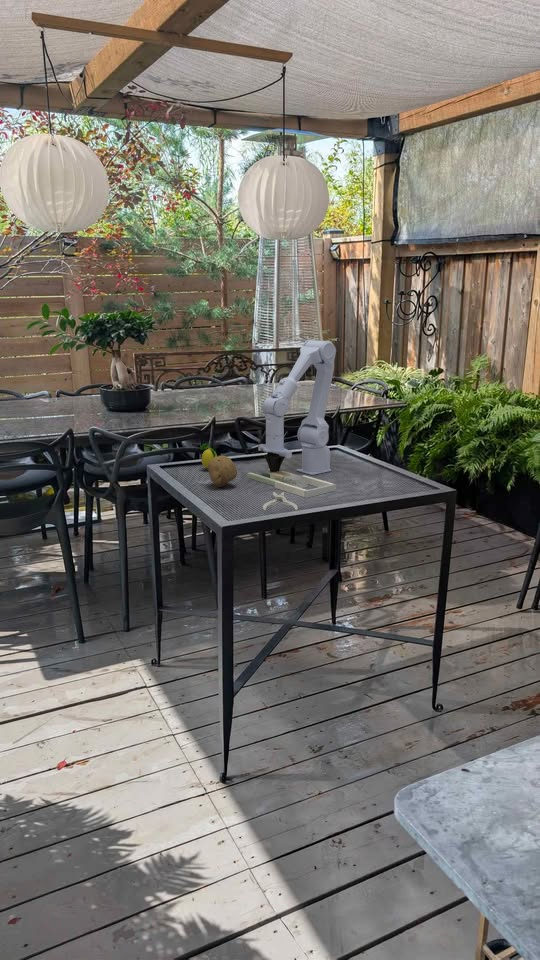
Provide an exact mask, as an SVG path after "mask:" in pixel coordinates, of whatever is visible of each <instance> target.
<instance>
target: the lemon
mask: <svg viewBox="0 0 540 960" xmlns="http://www.w3.org/2000/svg"><path fill="white" fill-rule="evenodd" d="M210 444H211V443H210V441H209V442H208V444H207V443H205V442H204V443H202V445H200V448H199V449H200V450H204V451H203V453H202V454H201V465H202V466H203V467H204V468H206V469H207V470H208V464H209V462H210V461H211V460H212V459H213V458H214V457H217V456H218V455H217V453H216V450H214V448H212V447H211V445H210Z"/></svg>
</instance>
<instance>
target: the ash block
mask: <svg viewBox="0 0 540 960" xmlns="http://www.w3.org/2000/svg"><path fill="white" fill-rule="evenodd" d="M293 474H294V473H291V472H288V471H285V470H279V471H277V472H272V473H270V474H269V478H271V479H274V480H277V481H280V482H283V477H284V476H289V475H293Z"/></svg>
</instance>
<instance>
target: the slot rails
mask: <svg viewBox="0 0 540 960" xmlns="http://www.w3.org/2000/svg"><path fill="white" fill-rule="evenodd" d="M246 473H247V474H246V478H247V479H251V480H255V481H256V482H257V481H258V482H261V483H264V484H268V485H270V486H273V487H275V481H277V480H274V479H271V478H270V477H267V476H264V475H261V474H257V473H255V472H246ZM266 473H267V474H268V475H270V469H269V468H267V469H266Z"/></svg>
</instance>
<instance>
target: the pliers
mask: <svg viewBox="0 0 540 960" xmlns="http://www.w3.org/2000/svg"><path fill="white" fill-rule="evenodd" d="M272 498H273V499H272V500H269V501H267V502H266V503H264V504H263V505H262V511H264V512H266V509H267V508H268V507H272V506H273V507H274V506H276V505H278V502H280V503H281V505H284V506H287V507H288V506H289V507H292V508H293V509H294V511H296V512H297V511H298V509H299V508H298V505H297V504H295V503H294V502H293V501H289V500H287V498H286V496H285V492H284V491H282V492H281V493H280V494H278V493H276V492H275V491H272Z"/></svg>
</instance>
